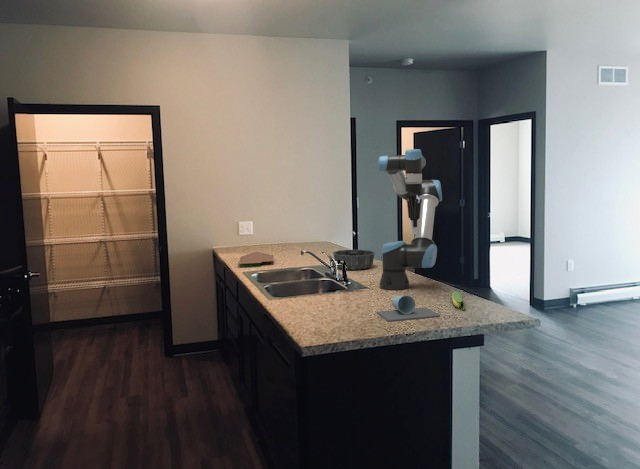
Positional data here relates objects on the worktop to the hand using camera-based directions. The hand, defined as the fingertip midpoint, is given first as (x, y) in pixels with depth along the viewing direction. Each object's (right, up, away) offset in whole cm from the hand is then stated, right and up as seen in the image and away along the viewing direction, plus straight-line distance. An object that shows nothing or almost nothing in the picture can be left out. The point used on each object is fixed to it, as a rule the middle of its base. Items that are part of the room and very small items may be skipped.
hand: (414, 234), depth 250 cm
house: (-87, -20, +115) cm, 146 cm away
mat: (-8, -33, -30) cm, 46 cm away
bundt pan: (-22, -21, +85) cm, 90 cm away
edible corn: (+16, -31, -17) cm, 39 cm away
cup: (-11, -29, -21) cm, 38 cm away
